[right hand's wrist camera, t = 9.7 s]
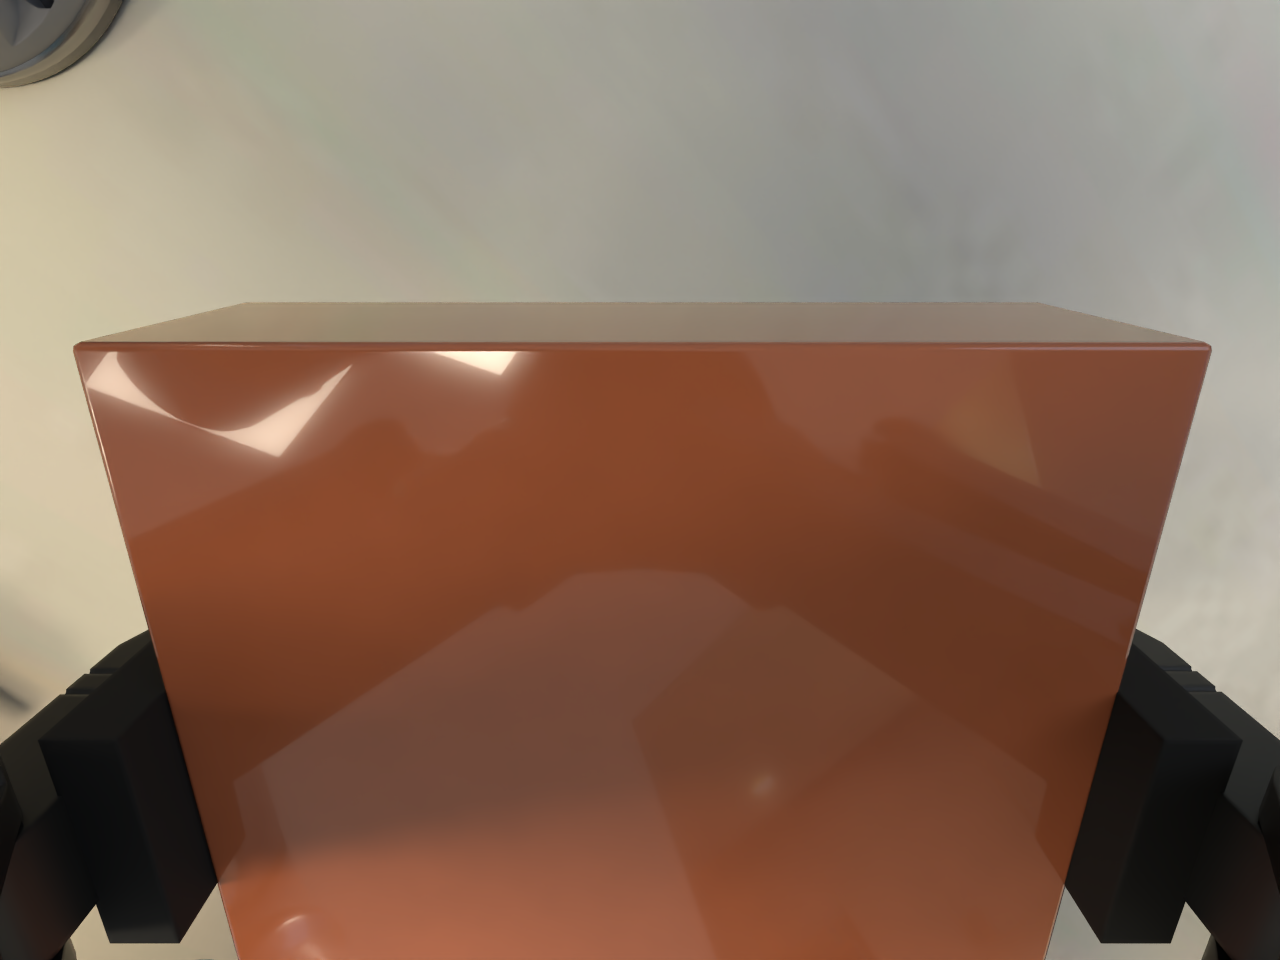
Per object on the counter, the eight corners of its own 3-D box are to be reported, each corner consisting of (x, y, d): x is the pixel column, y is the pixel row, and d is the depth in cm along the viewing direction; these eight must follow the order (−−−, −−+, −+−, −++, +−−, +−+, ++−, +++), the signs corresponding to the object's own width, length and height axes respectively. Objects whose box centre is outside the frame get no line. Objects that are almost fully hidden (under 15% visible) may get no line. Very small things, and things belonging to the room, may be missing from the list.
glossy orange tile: (376, 836, 14) (269, 1087, 10) (286, 291, 10) (66, 344, 6) (906, 836, 14) (1012, 1087, 10) (996, 291, 10) (1218, 343, 6)
